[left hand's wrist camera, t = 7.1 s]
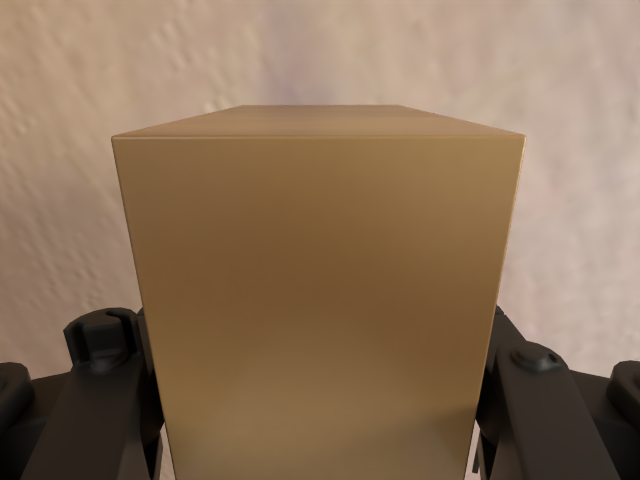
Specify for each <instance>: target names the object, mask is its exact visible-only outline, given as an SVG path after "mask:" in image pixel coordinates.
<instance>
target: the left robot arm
mask: <svg viewBox="0 0 640 480" xmlns="http://www.w3.org/2000/svg"><path fill="white" fill-rule="evenodd" d="M63 332H64V335H65V339H66V342H67V346H68V349H69V353H70V356H71V360H72V363H73V367H72V369H71V371H70V372H67V373H63V374H58V375H53V376H48V377H43V378H38V379H33V380H31V378H30V375H29V372H28V369H27V368H26V367H25V366H24V365H22V364H20V363H13V362H7V363H0V480H159V477H160V469H161V460H162V451H163V445H162V438H161V433H160V430H161V428H162V426H163V424H164V416H163V411H162V405H161V400H160V395H159V390H158V384H157V379H156V374H155V368H154V363H153V358H152V353H151V347H150V342H149V337H148V332H147V326H146V321H145V316H144V311H143V307H142V308H141V309H140V311H139V312H138V313H137V314H136V313H135V312H133V311H132V310H130V309H125V308H106V309H101V310H97V311H93V312H90V313H88V314H85V315H83V316H80V317H79V318H77V319H76V320H74V321H72V322H71V323H69V325H68V326H67V327H66V328H65V329H64V330H63ZM475 419H476V421H477V423H478V425H479V427H480V433H479V438H478V443H477V448H476V453H475V458H474V463H473V470H472V472H473V473H478V468H480V476H481V480H640V361H632V360H631V361H623V362H619V363H618V364H617V365H615V366H614V368H613V371H612V374H611V377H610V378H606V377H601V376H596V375H591V374H586V373H581V372H577V371H573V370H569V368H568V366H567V364H566V363H565V362H564V360H563V359H562V358H561V356H559V355H558V354H556V353H555V352H554V351H552V350H551V349H549V348H547V347H544V346H542V345H540V344H538V343H534V342H529V341H526V340H525V338H524V337H523V336H522V335H521V333H520V332H519V331H518V330H517V328H516V327H515V326H514V325H513V323H512V322H511V321H510V320H509V318H508V317H507V316H506V315H504V312H503V311H502V310H501V308H500V307H499V306H497V303H496V308H495V314H494V319H493V325H492V330H491V336H490V341H489V347H488V352H487V358H486V363H485V368H484V374H483V379H482V385H481V390H480V396H479V401H478V407H477V412H476V418H475Z"/></svg>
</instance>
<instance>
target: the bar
mask: <svg viewBox="0 0 640 480" xmlns="http://www.w3.org/2000/svg"><path fill="white" fill-rule="evenodd" d="M111 142H112V147H113V153H114V158H115V163H116V168H117V174H118V179H119V184H120V189H121V195H122V200H123V205H124V211H125V216H126V221H127V226H128V232H129V237H130V242H131V247H132V253H133V258H134V263H135V268H136V274H137V279H138V284H139V289H140V295H141V300H142V305H143V311H144V316H145V321H146V326H147V332H148V337H149V342H150V347H151V353H152V358H153V363H154V368H155V374H156V379H157V384H158V390H159V395H160V400H161V405H162V411H163V416H164V421H165V426H166V432H167V437H168V442H169V447H170V453H171V458H172V463H173V468H174V474H175V479H176V480H464V478H465V472H466V467H467V461H468V456H469V450H470V445H471V439H472V434H473V429H474V423H475V418H476V412H477V407H478V401H479V396H480V390H481V385H482V379H483V374H484V368H485V363H486V358H487V352H488V347H489V341H490V336H491V330H492V325H493V319H494V314H495V308H496V303H497V297H498V292H499V286H500V281H501V276H502V270H503V265H504V259H505V254H506V248H507V243H508V237H509V232H510V226H511V221H512V215H513V210H514V205H515V199H516V194H517V188H518V183H519V177H520V172H521V166H522V161H523V155H524V150H525V144H526V136H525V135H523V134H519V133H514V132H510V131H506V130H502V129H497V128H493V127H489V126H485V125H480V124H476V123H472V122H468V121H464V120H459V119H455V118H451V117H447V116H442V115H438V114H434V113H430V112H425V111H421V110H417V109H413V108H408V107H404V106H400V105H242V106H238V107H234V108H229V109H225V110H221V111H217V112H212V113H208V114H204V115H199V116H195V117H191V118H187V119H182V120H178V121H174V122H170V123H165V124H161V125H157V126H152V127H148V128H144V129H140V130H135V131H131V132H127V133H123V134H118V135H114V136H112V137H111Z"/></svg>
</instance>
